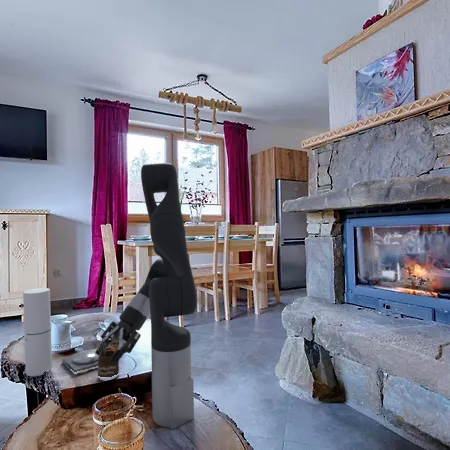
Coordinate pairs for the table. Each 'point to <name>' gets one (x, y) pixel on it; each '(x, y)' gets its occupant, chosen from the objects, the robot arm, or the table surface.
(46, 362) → the cylindrical container
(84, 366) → the flange
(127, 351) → the robot arm
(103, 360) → the utensil holder
